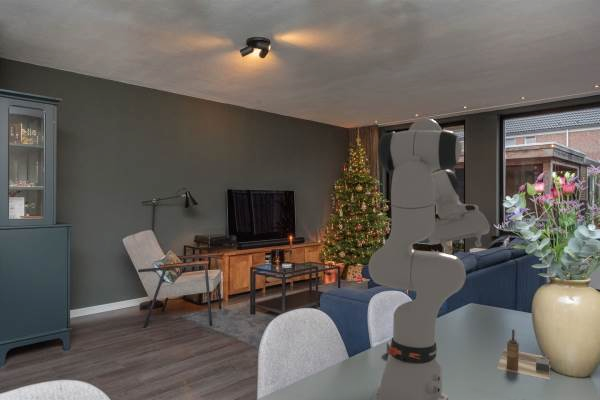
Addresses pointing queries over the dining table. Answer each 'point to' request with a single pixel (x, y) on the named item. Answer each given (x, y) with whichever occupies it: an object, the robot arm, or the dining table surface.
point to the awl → (512, 353)
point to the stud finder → (542, 364)
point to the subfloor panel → (524, 365)
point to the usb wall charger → (388, 346)
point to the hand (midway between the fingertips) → (464, 248)
